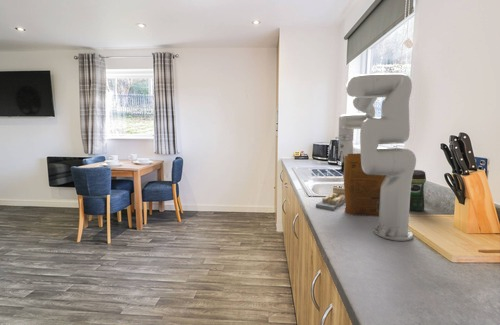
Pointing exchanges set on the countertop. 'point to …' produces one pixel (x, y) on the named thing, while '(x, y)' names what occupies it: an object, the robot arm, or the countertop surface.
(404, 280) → the countertop surface
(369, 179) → the pancake mix bag
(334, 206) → the board
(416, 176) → the coffee jar
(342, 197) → the ginger root
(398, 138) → the robot arm
